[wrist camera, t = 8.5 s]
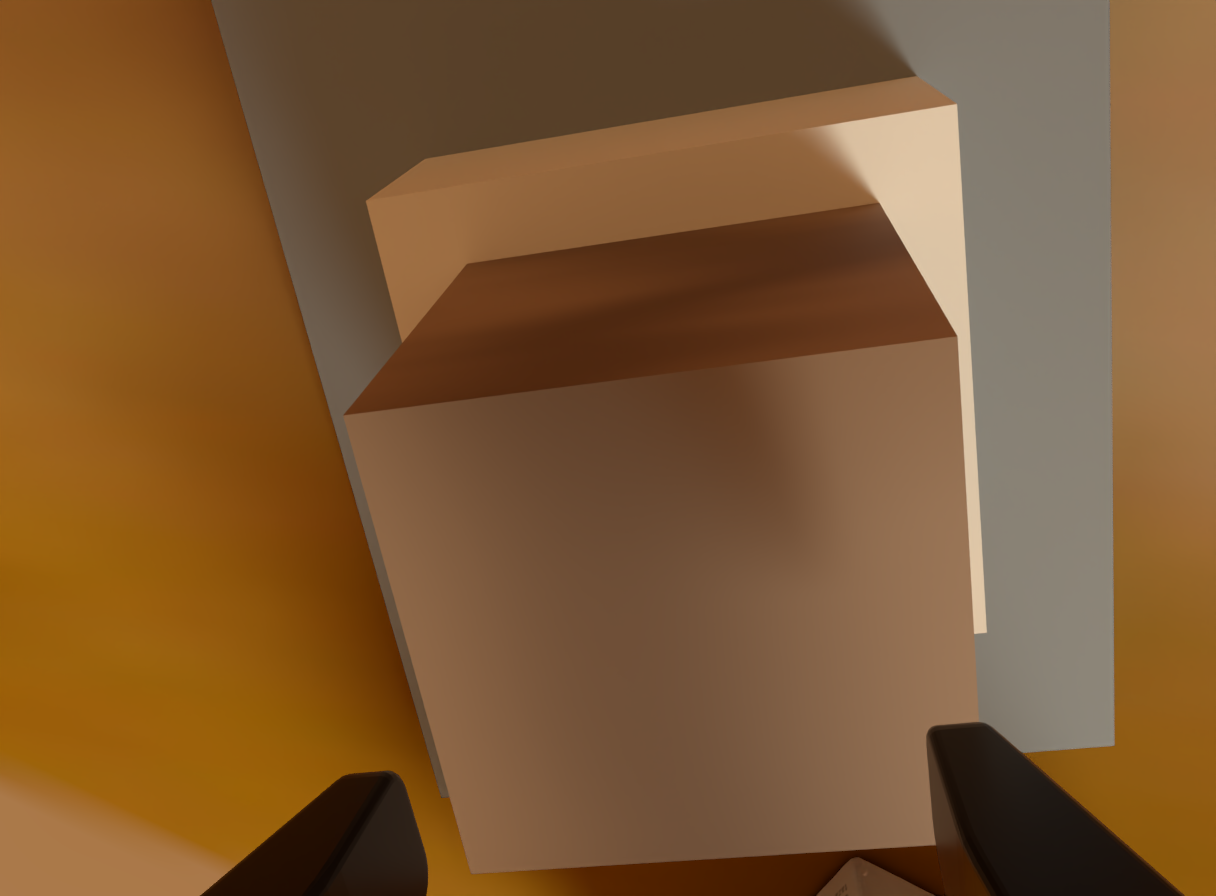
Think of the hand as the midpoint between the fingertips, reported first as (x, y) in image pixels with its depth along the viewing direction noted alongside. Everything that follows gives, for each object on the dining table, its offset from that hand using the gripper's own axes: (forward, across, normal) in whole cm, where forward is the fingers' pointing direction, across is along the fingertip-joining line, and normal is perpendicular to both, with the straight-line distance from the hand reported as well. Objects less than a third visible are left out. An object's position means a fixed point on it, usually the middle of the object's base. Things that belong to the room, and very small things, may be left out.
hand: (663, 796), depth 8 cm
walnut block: (+7, 0, 0) cm, 7 cm away
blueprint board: (+11, 0, 0) cm, 11 cm away
